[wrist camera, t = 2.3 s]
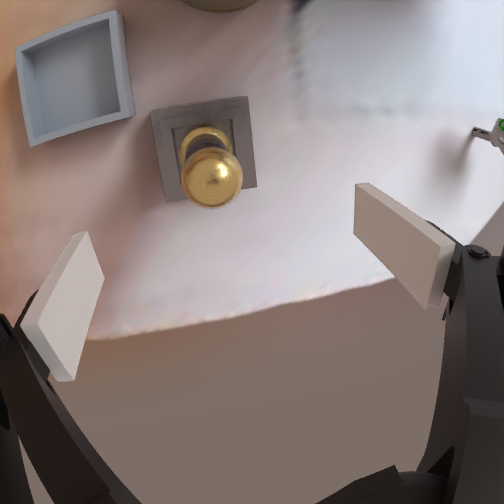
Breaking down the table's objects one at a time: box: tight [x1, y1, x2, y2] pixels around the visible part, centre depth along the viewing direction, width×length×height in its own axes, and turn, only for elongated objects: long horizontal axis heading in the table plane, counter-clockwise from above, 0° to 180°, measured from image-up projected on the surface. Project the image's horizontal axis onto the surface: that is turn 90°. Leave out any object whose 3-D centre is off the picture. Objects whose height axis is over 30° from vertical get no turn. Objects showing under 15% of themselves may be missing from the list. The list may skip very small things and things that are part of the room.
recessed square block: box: [150, 96, 257, 202], centre depth 32 cm, size 10×10×4 cm
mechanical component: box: [472, 118, 504, 155], centre depth 34 cm, size 3×10×10 cm, turn 60°
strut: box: [179, 125, 243, 209], centre depth 26 cm, size 5×5×13 cm
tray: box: [15, 9, 135, 147], centre depth 26 cm, size 12×12×4 cm
